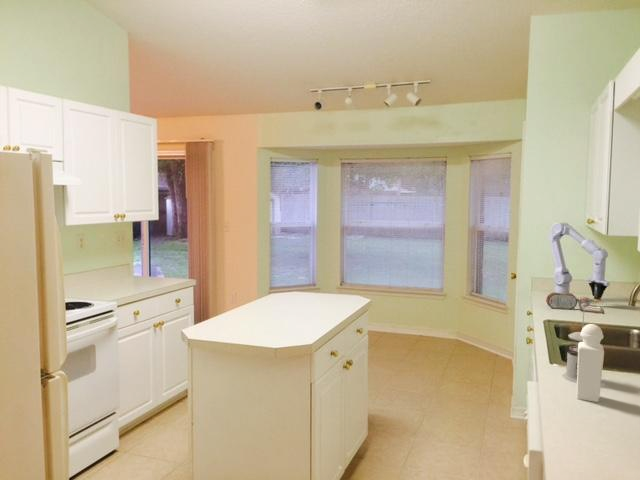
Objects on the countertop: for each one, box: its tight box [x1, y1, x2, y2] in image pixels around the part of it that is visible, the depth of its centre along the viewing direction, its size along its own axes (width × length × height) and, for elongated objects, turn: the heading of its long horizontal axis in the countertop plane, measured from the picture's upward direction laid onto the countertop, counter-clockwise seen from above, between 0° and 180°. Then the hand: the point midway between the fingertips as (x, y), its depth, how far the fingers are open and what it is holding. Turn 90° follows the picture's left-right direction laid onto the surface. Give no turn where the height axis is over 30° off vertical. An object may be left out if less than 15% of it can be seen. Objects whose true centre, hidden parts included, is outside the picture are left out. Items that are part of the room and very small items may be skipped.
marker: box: [593, 284, 602, 303], centre depth 273 cm, size 3×3×9 cm
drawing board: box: [579, 305, 604, 315], centre depth 265 cm, size 12×10×1 cm
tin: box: [545, 291, 578, 310], centre depth 266 cm, size 15×3×8 cm, turn 84°
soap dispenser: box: [576, 323, 605, 403], centre depth 149 cm, size 6×6×22 cm
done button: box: [579, 296, 590, 302], centre depth 274 cm, size 4×4×3 cm
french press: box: [562, 303, 588, 384], centre depth 164 cm, size 10×12×25 cm
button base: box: [578, 298, 591, 308], centre depth 274 cm, size 5×5×3 cm
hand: (597, 296), depth 273 cm, fingers closed on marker, 3 cm apart
